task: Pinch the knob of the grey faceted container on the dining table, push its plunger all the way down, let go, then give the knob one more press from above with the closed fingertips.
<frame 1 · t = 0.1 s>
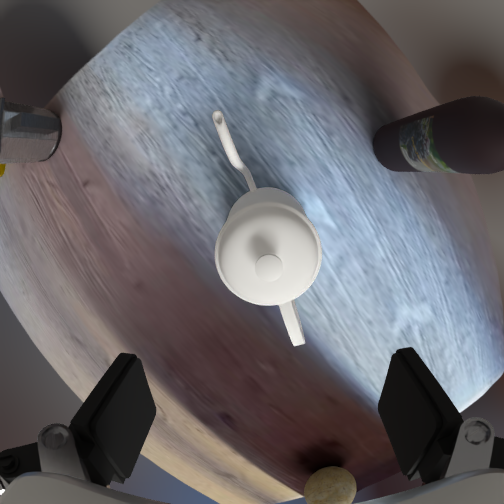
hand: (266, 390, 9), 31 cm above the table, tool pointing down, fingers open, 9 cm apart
grey faceted container: (44, 136, 37), on the table
coffeepot: (265, 222, 39), on the table
fossilized egg: (327, 469, 54), on the table
wine bottle: (392, 147, 36), on the table
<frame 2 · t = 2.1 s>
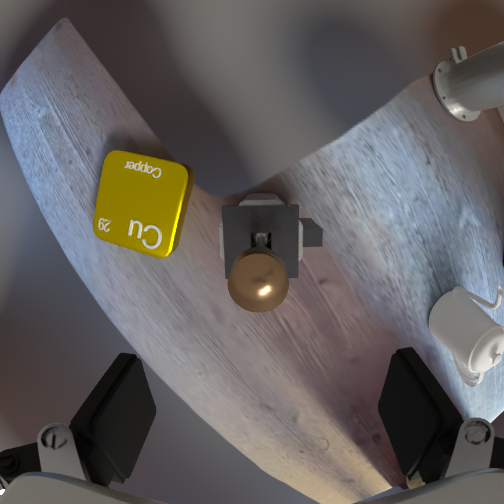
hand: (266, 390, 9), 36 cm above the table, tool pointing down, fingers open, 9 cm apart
grey faceted container: (262, 221, 44), on the table
coffeepot: (446, 310, 47), on the table
fossilized egg: (418, 461, 62), on the table
plunger: (260, 255, 26), point 19 cm above the table, slide at 0.0 cm
element tile: (146, 200, 45), on the table
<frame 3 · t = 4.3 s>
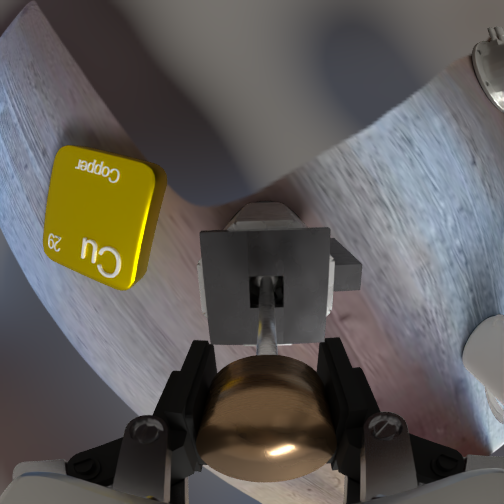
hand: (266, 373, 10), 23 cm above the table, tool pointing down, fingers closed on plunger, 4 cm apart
grey faceted container: (265, 241, 32), on the table
coffeepot: (482, 338, 35), on the table
plunger: (266, 330, 13), point 19 cm above the table, slide at 0.0 cm, touching gripper
element tile: (106, 211, 33), on the table
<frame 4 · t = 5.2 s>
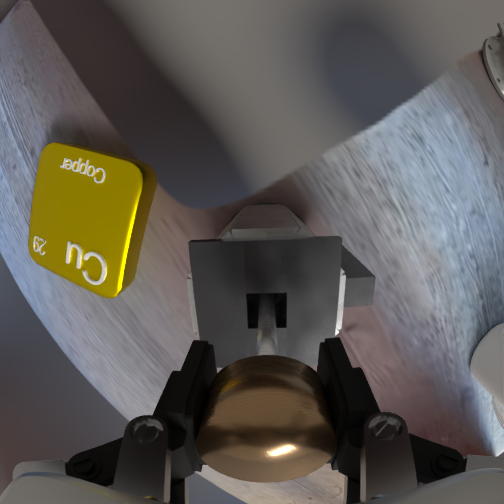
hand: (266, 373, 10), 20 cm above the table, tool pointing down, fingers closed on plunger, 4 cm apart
grey faceted container: (266, 247, 30), on the table
coffeepot: (490, 346, 32), on the table
plunger: (267, 330, 13), point 17 cm above the table, slide at 2.7 cm, touching gripper
element tile: (94, 213, 30), on the table
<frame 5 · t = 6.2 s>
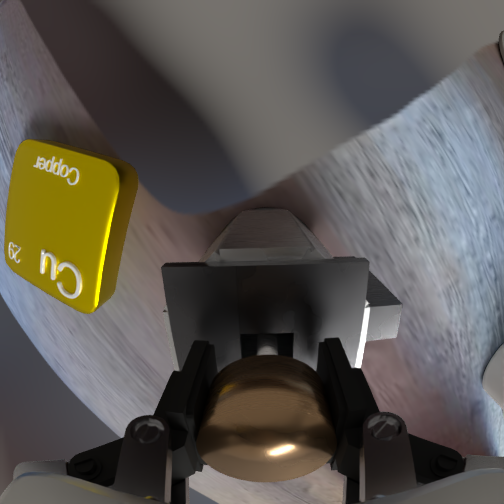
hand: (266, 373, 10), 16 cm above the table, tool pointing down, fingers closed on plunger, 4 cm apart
grey faceted container: (266, 258, 26), on the table
coffeepot: (503, 358, 28), on the table
plunger: (267, 330, 13), point 12 cm above the table, slide at 7.0 cm, touching gripper
element tile: (72, 217, 26), on the table
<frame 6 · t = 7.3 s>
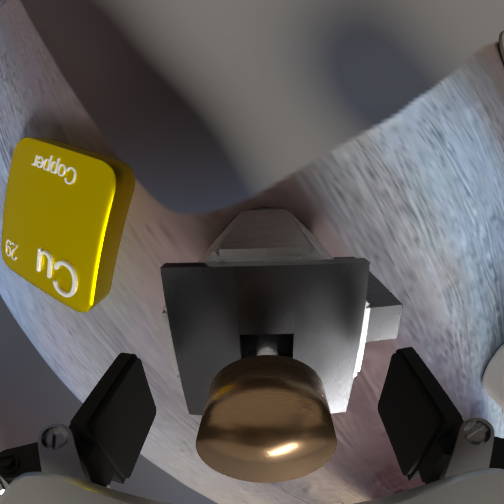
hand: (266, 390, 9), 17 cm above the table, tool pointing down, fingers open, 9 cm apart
grey faceted container: (266, 259, 25), on the table
coffeepot: (503, 358, 28), on the table
plunger: (266, 330, 13), point 12 cm above the table, slide at 7.0 cm
element tile: (69, 216, 26), on the table
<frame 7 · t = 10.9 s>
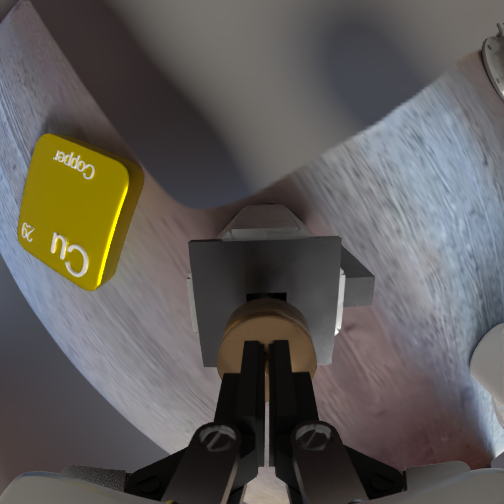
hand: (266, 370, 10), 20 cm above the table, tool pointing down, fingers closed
grey faceted container: (265, 247, 30), on the table
coffeepot: (489, 346, 32), on the table
plunger: (266, 295, 18), point 12 cm above the table, slide at 7.0 cm
element tile: (82, 206, 30), on the table
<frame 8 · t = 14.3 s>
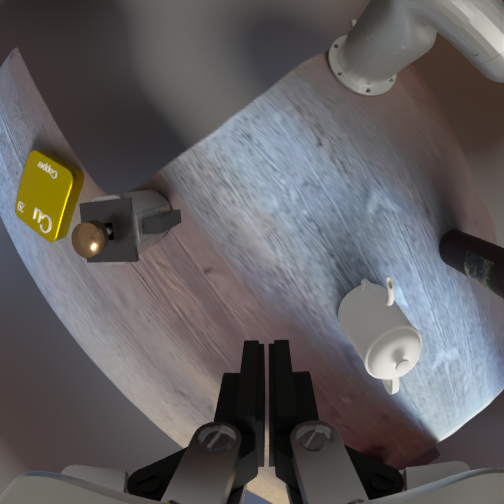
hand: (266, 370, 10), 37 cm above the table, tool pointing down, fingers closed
grey faceted container: (148, 215, 47), on the table
coffeepot: (363, 305, 50), on the table
plunger: (114, 228, 35), point 12 cm above the table, slide at 7.0 cm
wine bottle: (451, 246, 46), on the table
element tile: (53, 193, 47), on the table
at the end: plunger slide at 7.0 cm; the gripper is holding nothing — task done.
